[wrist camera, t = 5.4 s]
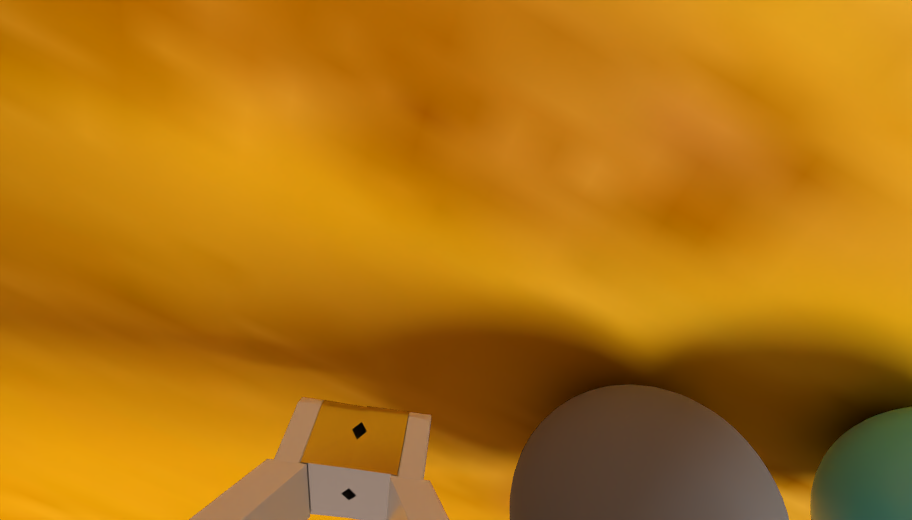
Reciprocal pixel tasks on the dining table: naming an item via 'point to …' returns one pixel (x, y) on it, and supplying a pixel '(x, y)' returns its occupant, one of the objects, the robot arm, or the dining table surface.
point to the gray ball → (640, 462)
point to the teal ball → (867, 471)
